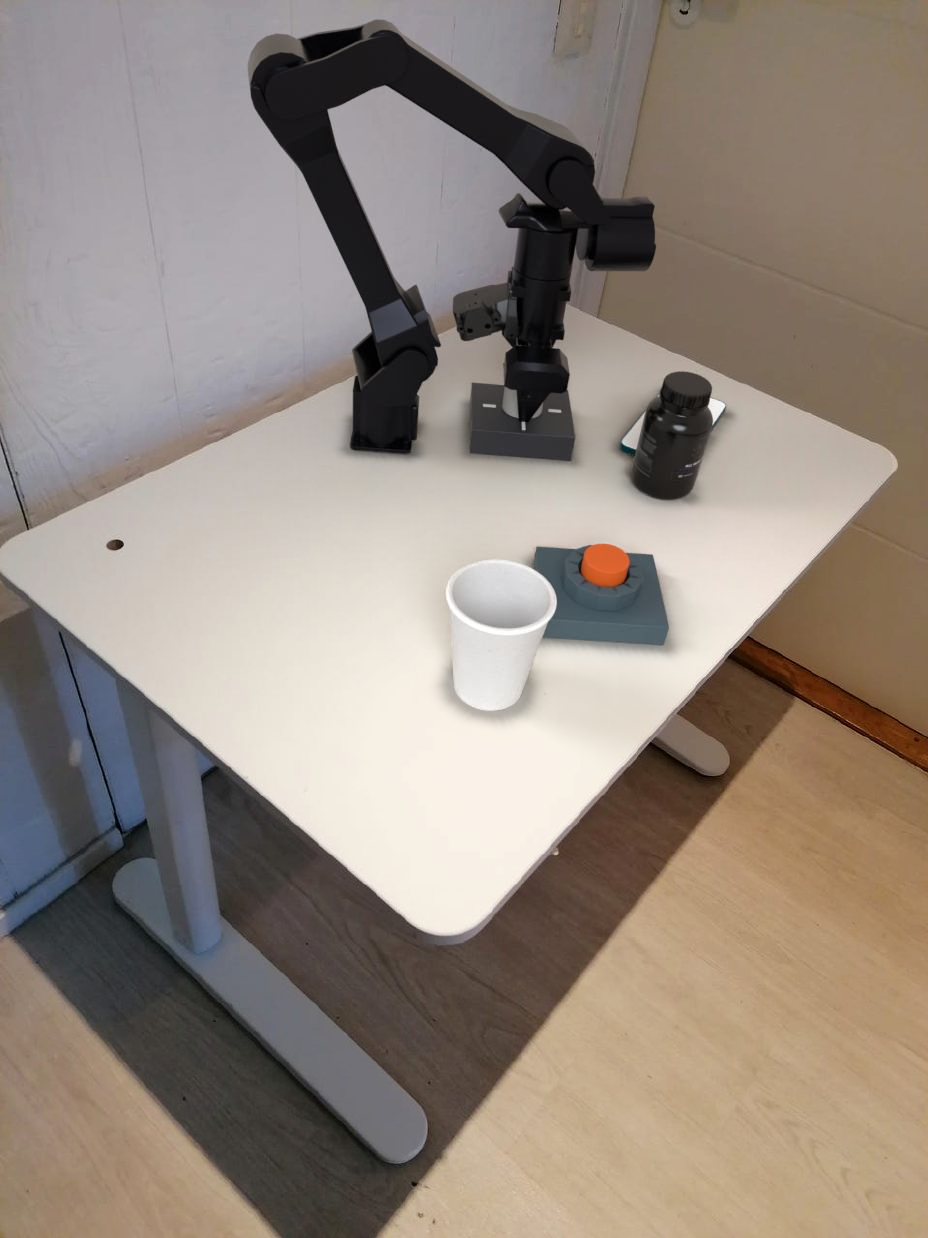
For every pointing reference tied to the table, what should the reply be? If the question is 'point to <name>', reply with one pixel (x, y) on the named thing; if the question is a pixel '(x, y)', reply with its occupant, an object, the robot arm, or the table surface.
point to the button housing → (603, 600)
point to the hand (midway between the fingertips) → (522, 408)
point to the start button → (605, 565)
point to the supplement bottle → (673, 437)
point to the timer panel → (520, 426)
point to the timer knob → (514, 403)
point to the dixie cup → (496, 629)
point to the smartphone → (632, 436)
